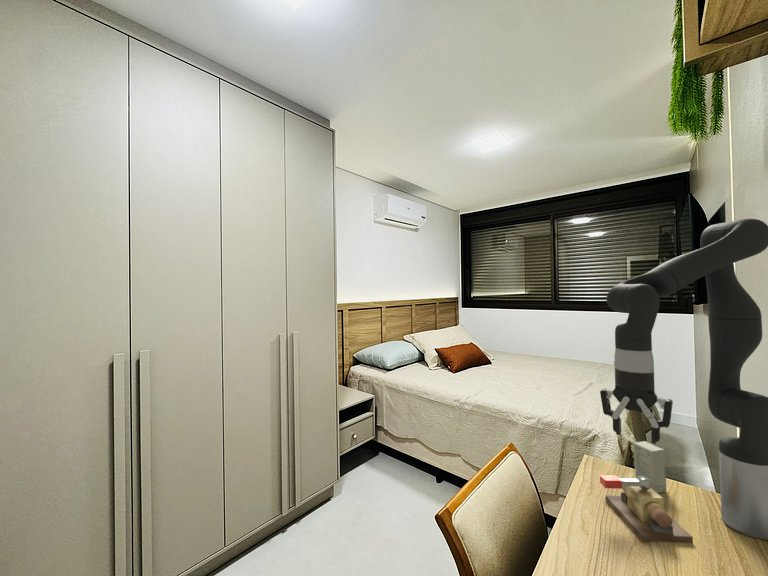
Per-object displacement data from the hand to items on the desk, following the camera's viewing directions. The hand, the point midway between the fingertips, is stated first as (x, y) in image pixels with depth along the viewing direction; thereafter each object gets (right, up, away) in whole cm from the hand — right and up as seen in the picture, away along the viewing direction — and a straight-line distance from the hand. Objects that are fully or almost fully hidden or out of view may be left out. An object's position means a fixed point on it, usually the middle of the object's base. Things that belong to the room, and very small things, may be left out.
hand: (635, 437), depth 79 cm
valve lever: (+2, -15, +6) cm, 17 cm away
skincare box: (+19, -24, +20) cm, 36 cm away
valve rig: (+7, -24, +6) cm, 25 cm away
